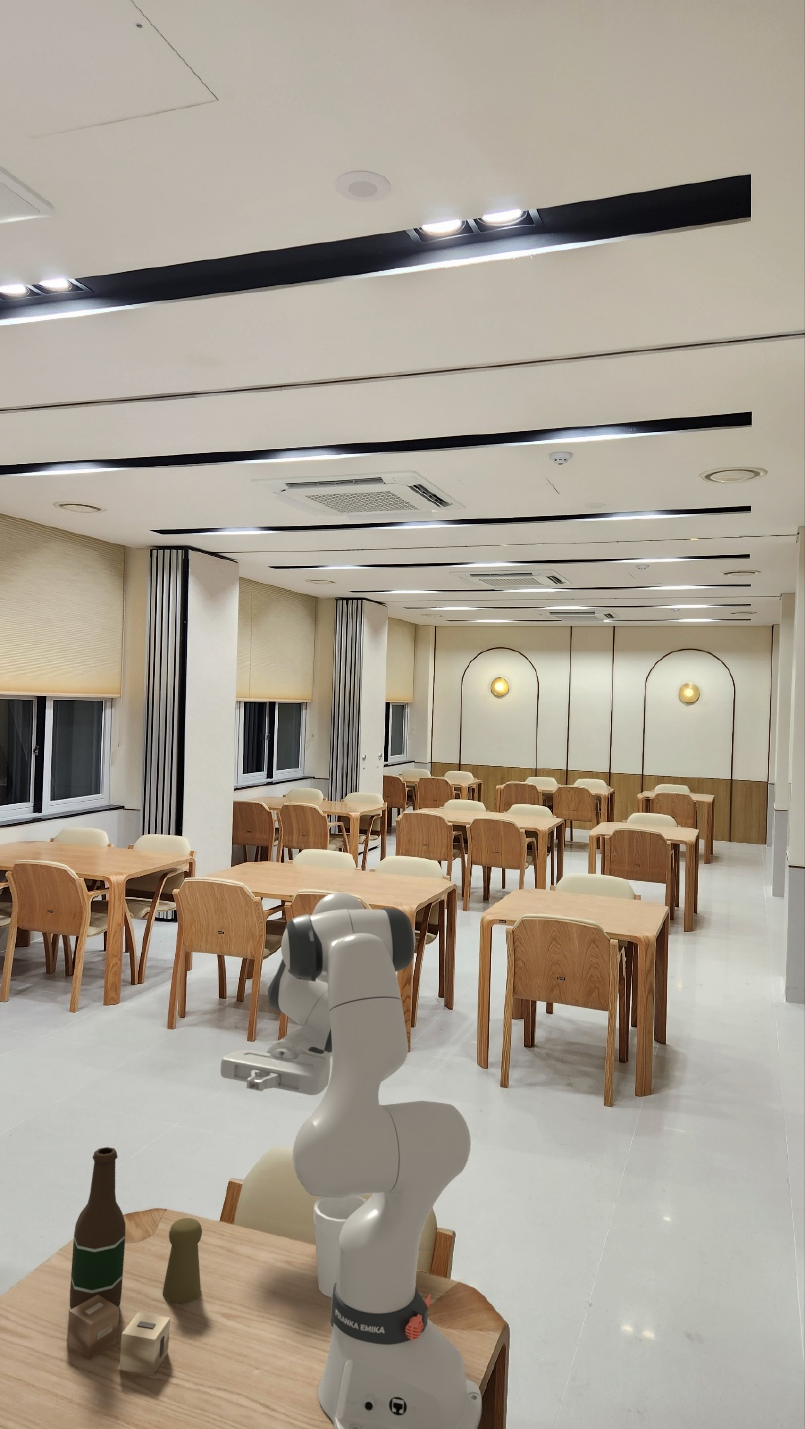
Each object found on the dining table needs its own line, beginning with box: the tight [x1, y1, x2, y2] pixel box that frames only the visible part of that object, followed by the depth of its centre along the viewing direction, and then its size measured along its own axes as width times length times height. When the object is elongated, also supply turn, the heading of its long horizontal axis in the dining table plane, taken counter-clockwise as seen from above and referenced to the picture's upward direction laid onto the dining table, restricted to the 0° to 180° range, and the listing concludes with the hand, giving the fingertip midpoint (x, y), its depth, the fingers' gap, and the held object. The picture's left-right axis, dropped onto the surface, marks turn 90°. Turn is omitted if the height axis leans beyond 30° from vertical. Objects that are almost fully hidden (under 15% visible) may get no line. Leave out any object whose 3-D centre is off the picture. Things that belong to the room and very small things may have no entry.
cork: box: [162, 1217, 203, 1304], centre depth 146 cm, size 6×6×11 cm
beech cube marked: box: [118, 1311, 171, 1377], centre depth 129 cm, size 5×5×5 cm
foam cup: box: [312, 1196, 368, 1298], centre depth 149 cm, size 10×9×13 cm
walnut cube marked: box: [66, 1295, 120, 1361], centre depth 132 cm, size 5×5×5 cm
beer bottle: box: [69, 1146, 126, 1310], centre depth 141 cm, size 8×8×24 cm
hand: (253, 1085), depth 161 cm, fingers closed
